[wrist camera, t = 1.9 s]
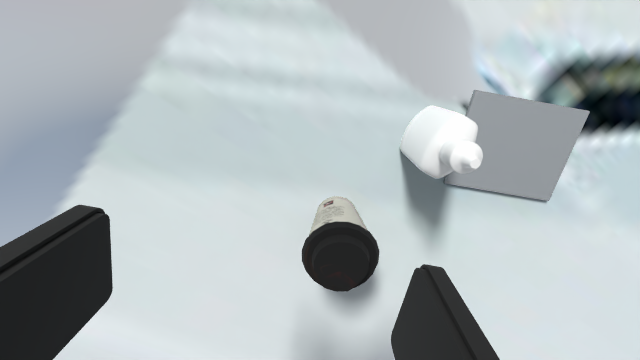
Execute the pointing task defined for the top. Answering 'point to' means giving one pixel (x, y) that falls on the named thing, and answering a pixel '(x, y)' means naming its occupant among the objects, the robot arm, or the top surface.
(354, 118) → the top surface
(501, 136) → the mat
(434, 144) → the eye dropper bottle
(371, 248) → the coffee cup
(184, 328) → the top surface
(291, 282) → the top surface
